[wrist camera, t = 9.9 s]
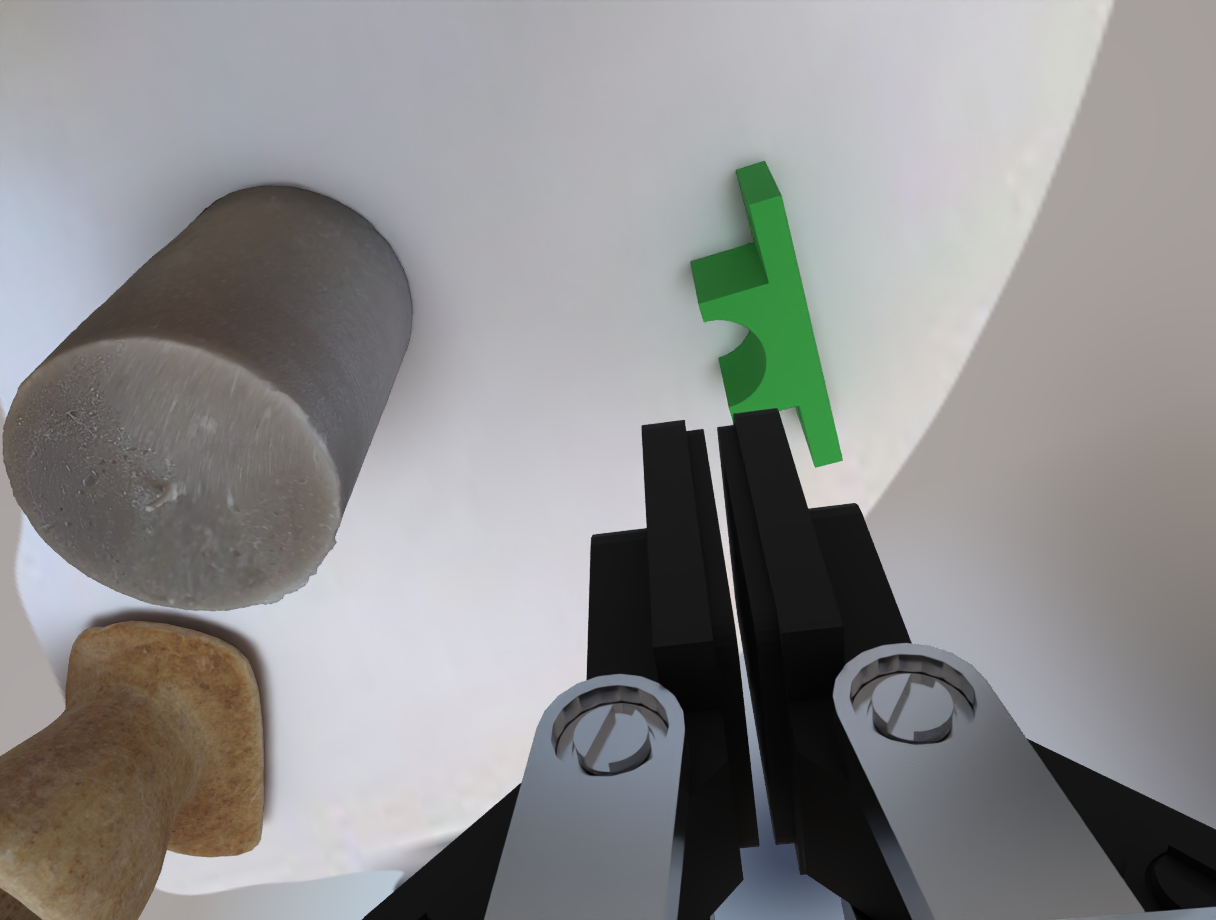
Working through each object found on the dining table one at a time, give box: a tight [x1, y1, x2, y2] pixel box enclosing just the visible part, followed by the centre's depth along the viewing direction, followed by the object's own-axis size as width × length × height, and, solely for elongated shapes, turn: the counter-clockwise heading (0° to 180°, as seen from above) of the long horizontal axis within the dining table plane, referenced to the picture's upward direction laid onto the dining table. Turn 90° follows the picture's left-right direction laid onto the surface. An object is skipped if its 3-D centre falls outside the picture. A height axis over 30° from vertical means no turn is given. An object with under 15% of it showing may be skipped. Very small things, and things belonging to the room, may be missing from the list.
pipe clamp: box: [691, 161, 843, 468], centre depth 38 cm, size 11×4×5 cm, turn 18°
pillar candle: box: [3, 186, 412, 611], centre depth 33 cm, size 10×10×15 cm
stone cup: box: [0, 621, 264, 920], centre depth 46 cm, size 15×12×15 cm
